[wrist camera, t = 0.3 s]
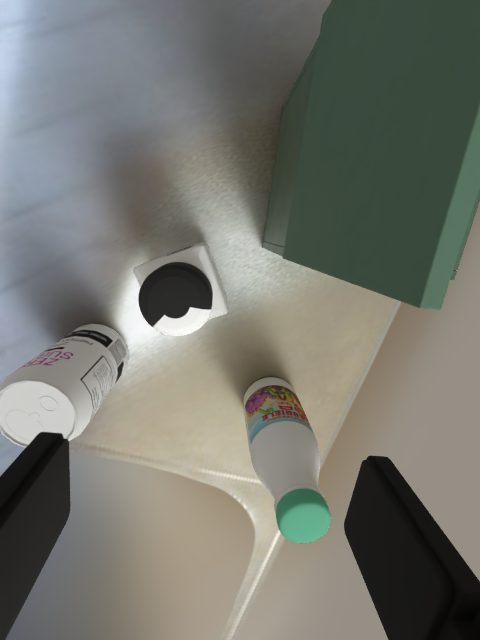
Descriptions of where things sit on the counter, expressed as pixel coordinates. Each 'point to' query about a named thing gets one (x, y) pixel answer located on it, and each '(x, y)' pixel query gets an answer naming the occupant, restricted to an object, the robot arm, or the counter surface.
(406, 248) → the bread box lid
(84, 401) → the supplement can
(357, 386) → the counter surface
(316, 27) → the counter surface
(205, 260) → the container
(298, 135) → the bread box
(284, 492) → the milk bottle
